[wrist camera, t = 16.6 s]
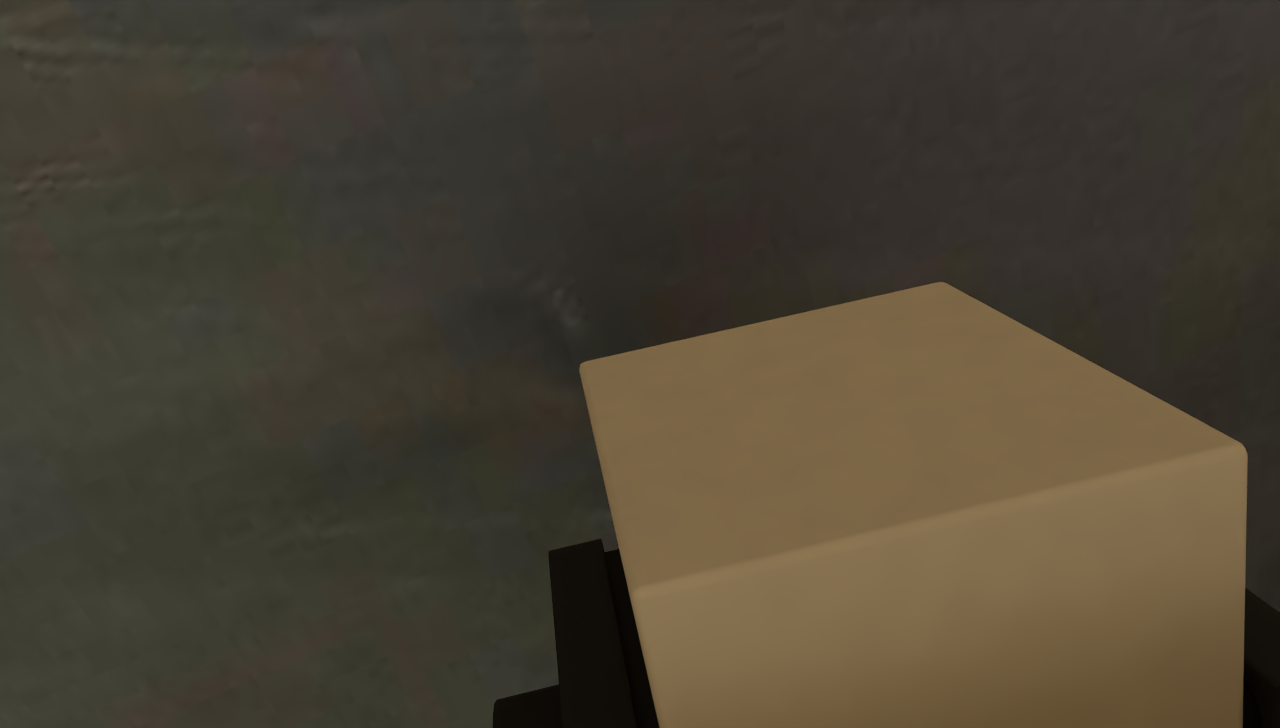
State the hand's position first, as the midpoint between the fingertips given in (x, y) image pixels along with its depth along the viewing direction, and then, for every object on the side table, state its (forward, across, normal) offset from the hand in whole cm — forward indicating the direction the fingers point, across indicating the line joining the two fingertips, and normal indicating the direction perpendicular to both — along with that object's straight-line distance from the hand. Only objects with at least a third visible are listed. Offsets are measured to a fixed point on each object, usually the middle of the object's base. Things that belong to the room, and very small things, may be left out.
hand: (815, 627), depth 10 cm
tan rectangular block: (0, 0, 0) cm, 0 cm away
